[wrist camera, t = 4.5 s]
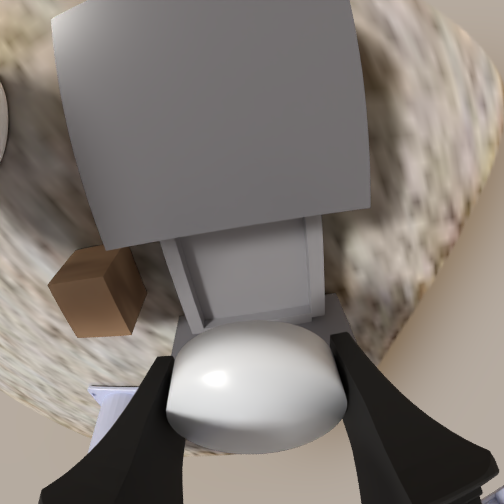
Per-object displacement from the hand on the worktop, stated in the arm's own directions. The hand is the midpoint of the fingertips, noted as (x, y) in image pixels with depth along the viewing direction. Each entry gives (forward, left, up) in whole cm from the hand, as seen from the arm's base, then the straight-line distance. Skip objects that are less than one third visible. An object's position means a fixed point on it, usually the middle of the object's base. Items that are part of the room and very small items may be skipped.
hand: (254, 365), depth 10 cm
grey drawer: (0, 0, -8) cm, 8 cm away
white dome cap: (0, 0, +1) cm, 1 cm away
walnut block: (0, +9, -8) cm, 12 cm away
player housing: (+9, 0, -8) cm, 12 cm away
